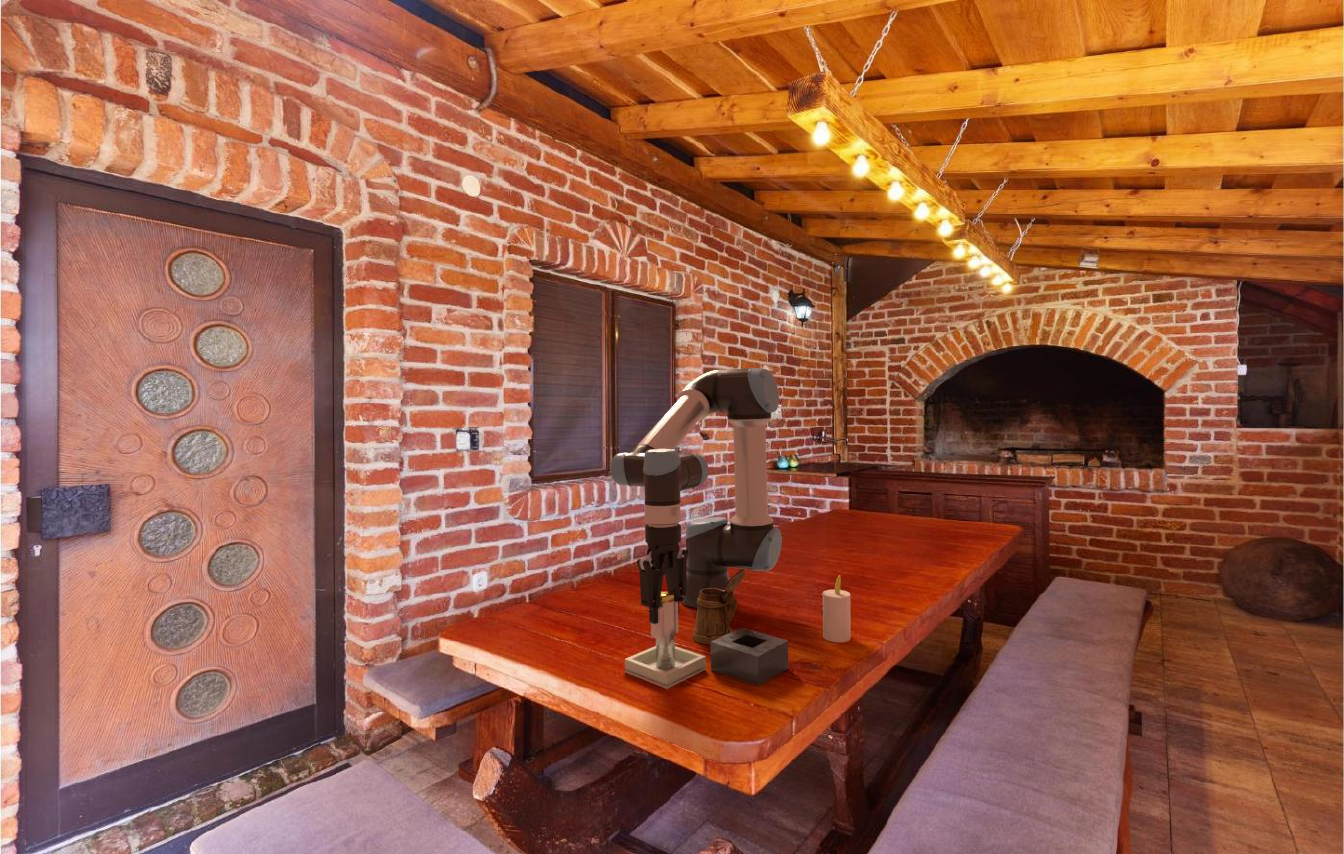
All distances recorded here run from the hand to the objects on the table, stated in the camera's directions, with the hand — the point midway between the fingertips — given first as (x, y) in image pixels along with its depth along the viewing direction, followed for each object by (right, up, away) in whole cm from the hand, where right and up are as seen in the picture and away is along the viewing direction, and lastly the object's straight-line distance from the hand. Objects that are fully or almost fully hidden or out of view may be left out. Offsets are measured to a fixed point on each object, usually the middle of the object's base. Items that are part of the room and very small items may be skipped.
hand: (664, 634), depth 135 cm
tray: (0, -8, 0) cm, 8 cm away
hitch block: (+18, -7, 0) cm, 19 cm away
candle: (+40, -7, +18) cm, 45 cm away
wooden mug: (+13, -7, +17) cm, 22 cm away
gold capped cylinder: (0, -7, 0) cm, 7 cm away
